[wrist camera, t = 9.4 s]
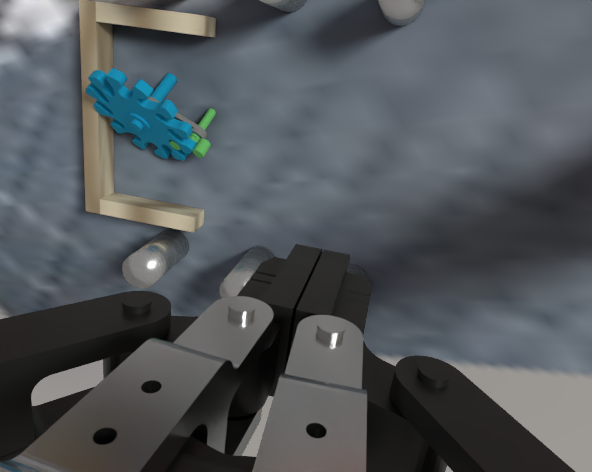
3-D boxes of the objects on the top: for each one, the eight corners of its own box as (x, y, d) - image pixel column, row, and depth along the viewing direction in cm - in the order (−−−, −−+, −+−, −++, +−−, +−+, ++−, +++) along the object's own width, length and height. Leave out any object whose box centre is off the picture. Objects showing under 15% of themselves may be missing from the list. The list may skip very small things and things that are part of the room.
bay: (216, 18, 41) (205, 15, 38) (203, 224, 47) (193, 232, 45) (96, 2, 42) (78, -1, 40) (100, 204, 49) (85, 211, 46)
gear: (85, 123, 44) (73, 58, 35) (122, 77, 47) (119, 5, 37) (192, 185, 46) (207, 139, 37) (222, 139, 48) (243, 84, 39)
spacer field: (427, -17, 37) (433, -35, 30) (364, 298, 46) (358, 336, 40) (166, -47, 40) (121, -68, 33) (158, 255, 49) (122, 284, 43)
